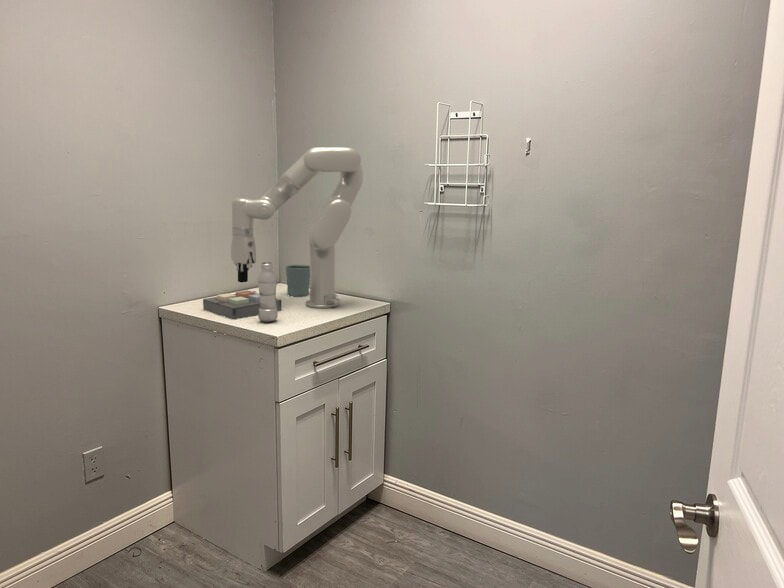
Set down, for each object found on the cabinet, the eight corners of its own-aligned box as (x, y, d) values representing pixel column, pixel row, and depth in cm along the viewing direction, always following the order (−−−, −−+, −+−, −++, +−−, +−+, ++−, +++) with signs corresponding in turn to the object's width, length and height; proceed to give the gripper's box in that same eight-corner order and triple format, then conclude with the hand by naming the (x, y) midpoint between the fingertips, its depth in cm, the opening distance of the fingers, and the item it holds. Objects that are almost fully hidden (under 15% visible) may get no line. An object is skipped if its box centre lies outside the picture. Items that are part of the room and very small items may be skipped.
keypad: (281, 310, 213) (281, 299, 212) (233, 319, 199) (233, 308, 198) (250, 301, 226) (250, 291, 226) (203, 309, 212) (203, 298, 211)
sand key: (236, 302, 212) (236, 295, 211) (224, 304, 208) (224, 297, 208) (229, 299, 215) (228, 293, 215) (216, 301, 212) (216, 295, 211)
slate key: (267, 302, 212) (267, 295, 212) (256, 304, 209) (256, 297, 208) (259, 300, 216) (259, 293, 215) (248, 302, 212) (248, 295, 212)
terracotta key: (255, 298, 218) (255, 292, 217) (243, 300, 214) (243, 294, 214) (247, 296, 221) (247, 290, 221) (236, 298, 217) (235, 292, 217)
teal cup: (281, 295, 240) (280, 266, 238) (299, 291, 248) (298, 263, 246) (298, 298, 234) (297, 269, 232) (316, 294, 242) (315, 266, 240)
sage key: (249, 305, 207) (248, 298, 206) (236, 307, 203) (236, 300, 203) (241, 303, 210) (240, 296, 209) (228, 305, 206) (228, 298, 206)
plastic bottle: (254, 321, 196) (252, 263, 192) (268, 318, 202) (267, 261, 198) (267, 324, 193) (266, 265, 189) (282, 320, 198) (281, 262, 194)
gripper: (263, 234, 210) (263, 284, 214) (240, 230, 220) (240, 277, 224) (245, 234, 205) (245, 286, 208) (222, 230, 215) (222, 279, 218)
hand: (242, 281), depth 216 cm, fingers closed
